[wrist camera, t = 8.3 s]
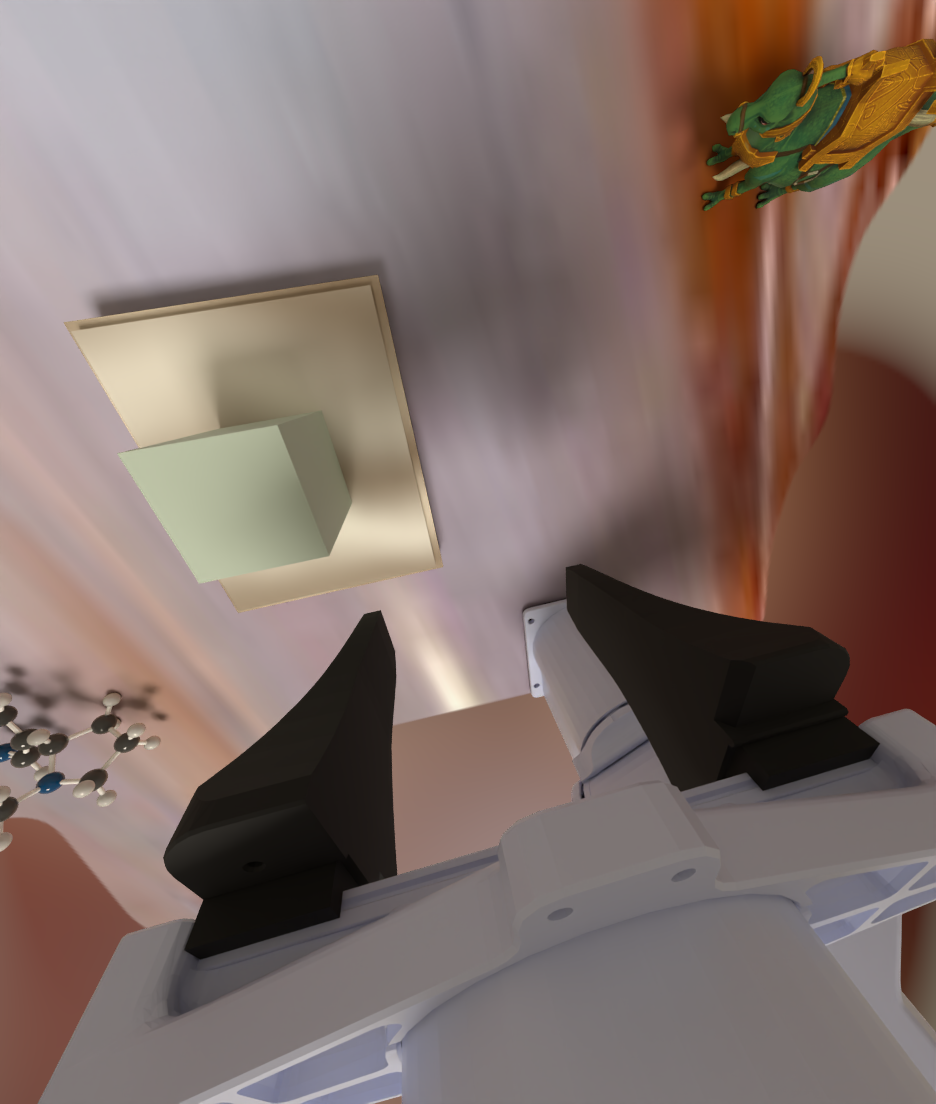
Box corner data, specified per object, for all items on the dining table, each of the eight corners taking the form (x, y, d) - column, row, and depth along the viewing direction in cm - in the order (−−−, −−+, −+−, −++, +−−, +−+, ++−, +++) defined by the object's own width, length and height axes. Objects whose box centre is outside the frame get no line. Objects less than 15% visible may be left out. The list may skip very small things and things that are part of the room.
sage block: (352, 502, 17) (329, 555, 12) (263, 520, 17) (199, 583, 11) (321, 410, 15) (277, 425, 10) (220, 428, 15) (117, 453, 9)
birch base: (440, 552, 22) (444, 571, 20) (252, 593, 21) (234, 618, 19) (381, 287, 15) (377, 270, 13) (105, 329, 15) (51, 320, 12)
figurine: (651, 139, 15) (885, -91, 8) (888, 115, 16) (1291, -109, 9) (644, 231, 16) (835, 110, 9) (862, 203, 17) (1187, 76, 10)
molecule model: (-18, 638, 22) (-233, 779, 16) (142, 691, 20) (-27, 863, 15) (52, 682, 26) (-97, 805, 20) (189, 728, 25) (71, 872, 19)
